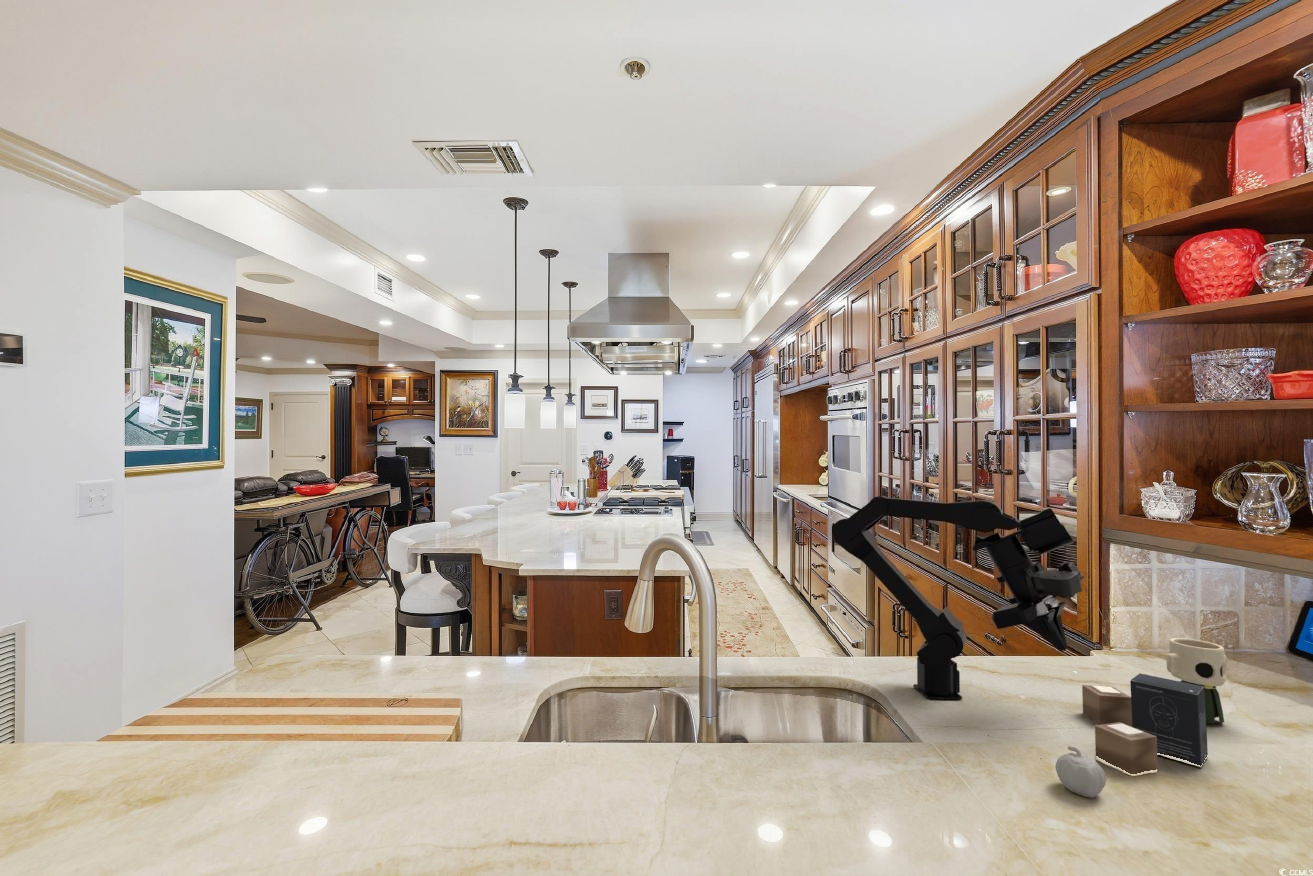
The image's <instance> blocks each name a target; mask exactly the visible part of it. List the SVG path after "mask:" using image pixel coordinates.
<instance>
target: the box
mask: <svg viewBox="0 0 1313 876" xmlns="http://www.w3.org/2000/svg"><path fill="white" fill-rule="evenodd" d="M1180 681H1181V680H1180ZM1180 681H1179V680H1174V679H1170V678H1165V677H1159V676H1156V675H1150V674H1145V673H1141V672H1140V673H1138V674H1137V675H1135V676H1134V677H1132V678H1131V679H1130V682H1129V683H1130V697H1131V707H1132V727H1134V728H1136V729H1139V730H1141V731H1144V732H1146V733H1149V734H1151V735H1154V736H1156V737H1157V753H1160V754H1164V755H1169V756H1173V757H1176V758H1180V759H1183V760H1187V761H1189V762H1191V763H1194V764H1197V765H1200V766H1201V765H1202V763H1203V762H1204V760H1205V758H1206V757H1207V755H1208V756H1209V753H1208V735H1207V734H1208V733H1207V723H1206V712H1205V693H1204V687H1203V686H1199V685H1194V684H1189V683H1184V682H1180ZM1207 758H1208V757H1207Z"/></svg>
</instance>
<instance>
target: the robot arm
mask: <svg viewBox="0 0 1313 876" xmlns="http://www.w3.org/2000/svg"><path fill="white" fill-rule="evenodd" d="M884 517H894V518H895V517H897V518H905V519H906V518H907V519H913V520H914V519H915V520H923V521H924V520H925V521H933V522H934V521H935V522H944V523H948V524H952V525H955V526H959V527H962V528H965V529H969V530H973V531H976V532H980V533H990V532H993V531H995V530H996V529H998V530H1004V531H1012V530H1014V529H1017V528H1019V530H1017V531H1013V532H1010V533H1008V534H1005V535H1003V536H1002V534H1001V533H1000V532H999V531H997V532H994V533H992V534H989V535H987V536H984V537H983V536H980V535H976V536H975V537H974V545H973V547H972V551H974V552H977V551H979V550H982V549H985V551H986V552H987V555H988V557H990V559H991V562H993V564H994V566H995V567H996V568H995V569H996V570H997V572H998V573H999V576H997V577H996V580H997V582H998V584H1002V583H1004V584H1005V586H1006V588H1007V589H1008V591H1009V593H1010V594H1011V596H1012V597H1010V598H1009V599H1008V601H1009V603H1010V604H1008V605H1004V606H1001V607H1000V608H999V609H997V610H995V611H993V612H992V615H991V620H992V622H993V624H994V625H995V627H996V629H997V630H1000V629H1006V628H1011V627H1016V626H1020V625H1021V626H1022V625H1025V626H1026V627H1027V628H1029V629H1031V631H1034V632H1035V633H1036V634H1037V635H1039V636H1040V637H1041V638H1043V639H1044V640H1045V641H1047V642H1048V643H1049V644H1050V645H1052V647H1054V648H1055V649H1057V650H1058V651H1060V652H1063V651H1066V650H1068V648H1069V647H1068V643H1067V639H1066V635H1065V629H1064V627H1063V626H1064V625H1063V619H1062V612H1063V610H1064V608H1065V606H1066V605H1067V601H1060V602H1059V601H1058V599H1057V598H1056V597H1060V598H1062V599H1069V598H1073V597H1075V595H1076V594H1078V593H1081V592H1082V591H1083V588H1082V584H1081V581H1082V580H1084V579H1085V576H1084V575H1083V574H1082V573H1081V571H1080V570H1079V568H1078V566H1076V564H1075V563H1074V562H1070V561H1069V562H1068V561H1065V562H1063V563H1061V564H1059V566H1058V568H1054V569H1051V570H1050V569H1049V570H1048V569H1045V568H1044V566H1043V565H1042V564H1041V563H1039V561H1036V562H1034V563H1033V561H1032V559H1031V558H1030V556H1029V554H1028V552H1027V551H1026V549H1025V548H1024V546H1023V544H1022V542H1021V541H1020V539H1019V538H1018V536H1019V535H1020V537H1021V539H1022V540H1023V542H1024V543H1025V546H1026V547H1027V549H1028V550H1029V551H1030V552H1031V553H1032V552H1038V553H1039V555H1041V556H1042V555H1044V554H1047V553H1049V552H1052V551H1054V550H1058V549H1060V548H1063V547H1066V546H1068V545H1072V544H1074V543H1075V542H1074V540H1073V538H1072V537H1071V535H1070V534H1069V532H1068V530H1067V529H1066V527H1065V525H1064V524H1063V522H1060V520H1059V519H1058V517H1057V515H1056V514H1055V512H1054V511H1053V509H1052V507H1047V508H1045V509H1043V510H1041V511H1040V512H1038V513H1036V514H1033V515H1031V516H1029V517H1025V518H1022V519H1021V520H1020V519H1018V518H1017V517H1016V516H1012V515H1009V514H1007V513H1005V512H1003V510H1002V508H1001V507H1000V506H999V505H998V504H997V503H996V502H995V501H992V500H988V499H987V500H986V499H983V500H969V501H967V500H965V501H958V502H957V501H956V502H955V501H954V502H943V501H942V502H940V501H932V500H931V501H929V500H919V499H906V498H897V497H896V498H894V497H888V496H887V495H881V496H880V495H879V496H875V497H873V498H872V499H870V501H869V502H868V503H867V504H865V505H863V507H861V508H860V509H858V510H857V511H855V512H854V513H853V514H852V515H850V516H849V517H847V518H842V519H839V520H837V521H836V522H835V523H834V524H833V525H832V529H831V536H832V539H833V541H834V542H835V543H836V544H837V545H839V547H841V548H842V549H844V550H845V551H846V552H847V553H848V554H850V555H852V556H853V557H855V558H856V559H858V560H859V561H861V562H862V563H864V565H865V566H866V567H867V568H868V569H869V570H870V571H871V573H872V574H873V575H874V576H875V577H876V578H877V579H878V580H879V581H880V583H881V584H882V585H883V586H884V587H885V588H886V589H887V590H888V591H889V592H890V594H892V596H893V597H894V598H895V599H896V600H897V601H898V603H900V605H901V606H903V608H904V609H905V611H907V612H908V614H909V615H911V617H912V618H913V619H914V621H915V623H916V624H917V627H918V629H919V631H920V633H921V635H922V637H923V638H924V640H925V641H923V643H922V644H921V646H920V647H919V649H918V650H917V652H916V656H917V657H916V671H917V672H916V676H917V677H916V679H917V681H916V684H915V683H914V684H913V685H912V686H913V689H915V690H916V691H918V692H919V693H920V694H921V695H923V696H924V697H925V698H927V699H929V700H963V696H962V695H961V694H959V693H961V691H960V690H961V687H960V686H961V685H960V683H961V677H960V674H961V673H960V671H959V669H958V662H956V661H954V660H953V659H955V658H957V657H959V656H960V655H961V654H962V653H963V650H964V648H965V645H966V643H967V633H966V630H965V629H964V627H963V625H964V622H963V621H961V620H959V619H958V618H956V616H955V615H954V614H953V613H952V611H951V609H950V608H949V607H948V606H945V607H944V609H942V610H940V609H939V608H937V607H936V606H934V605H932V604H931V603H930V602H929V600H928V599H926V597H925V596H924V595H923V594H922V593H921V592H920V591H919V590H918V589H917V588H916V586H915V585H914V584H913V583H912V582H911V581H910V580H909V579H908V577H906V576H905V575H904V573H902V572H901V571H900V570H899V568H898V567H897V566H896V565H895V564H894V563H893V562H892V561H891V560H890V558H889V557H888V556H887V555H885V553H884V552H883V551H882V550H881V548H880V547H879V546H878V543H877V541H876V539H875V537H874V535H873V533H872V532H871V529H872V528H873V527H874V526H876V525H877V524H878V523H879V522H880V521H881V520H882V519H883V518H884Z"/></svg>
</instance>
